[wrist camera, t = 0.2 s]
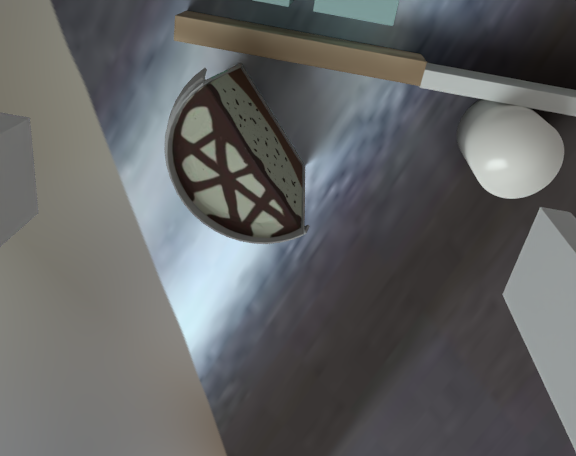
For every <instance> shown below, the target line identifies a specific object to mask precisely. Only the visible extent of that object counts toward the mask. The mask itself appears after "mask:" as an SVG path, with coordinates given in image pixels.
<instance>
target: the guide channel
mask: <svg viewBox="0 0 576 456" xmlns="http://www.w3.org/2000/svg"><path fill="white" fill-rule="evenodd" d="M174 41H180V42H185V43H190V44H196V45H201V46H207V47H212V48H217V49H223V50H228V51H234V52H239V53H244V54H250V55H255V56H261V57H266V58H271V59H277V60H282V61H288V62H293V63H298V64H304V65H309V66H315V67H320V68H325V69H331V70H336V71H342V72H347V73H352V74H358V75H363V76H369V77H374V78H379V79H385V80H390V81H396V82H401V83H406V84H412V85H417V86H420V85H421V81H422V78H423V74H424V71H425V67H426V64H427V61H426V60H425V59H424V57H423V56H422V55H421V54H419V53H413V52H408V51H402V50H397V49H392V48H386V47H381V46H375V45H370V44H365V43H359V42H354V41H348V40H343V39H338V38H332V37H327V36H321V35H316V34H311V33H305V32H300V31H294V30H289V29H284V28H278V27H273V26H267V25H262V24H257V23H251V22H246V21H240V20H235V19H230V18H224V17H219V16H213V15H208V14H203V13H197V12H192V11H185V12H182V13H180V14H178V15H175V30H174Z"/></svg>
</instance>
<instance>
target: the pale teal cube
mask: <svg viewBox="0 0 576 456" xmlns="http://www.w3.org/2000/svg"><path fill="white" fill-rule="evenodd" d="M398 3H399V0H315V2H314V8H313V11H314V12H319V13H325V14H330V15H336V16H341V17H346V18H352V19H357V20H363V21H368V22H373V23H379V24H384V25H390V26H393V24H394V20H395V16H396V12H397V7H398Z"/></svg>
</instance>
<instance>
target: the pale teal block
mask: <svg viewBox="0 0 576 456" xmlns="http://www.w3.org/2000/svg"><path fill="white" fill-rule="evenodd" d="M254 1H259V2H265V3H270V4H276V5H281V6H286V7H289V6H290V5H291V4H292V2H293V1H294V0H254Z"/></svg>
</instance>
